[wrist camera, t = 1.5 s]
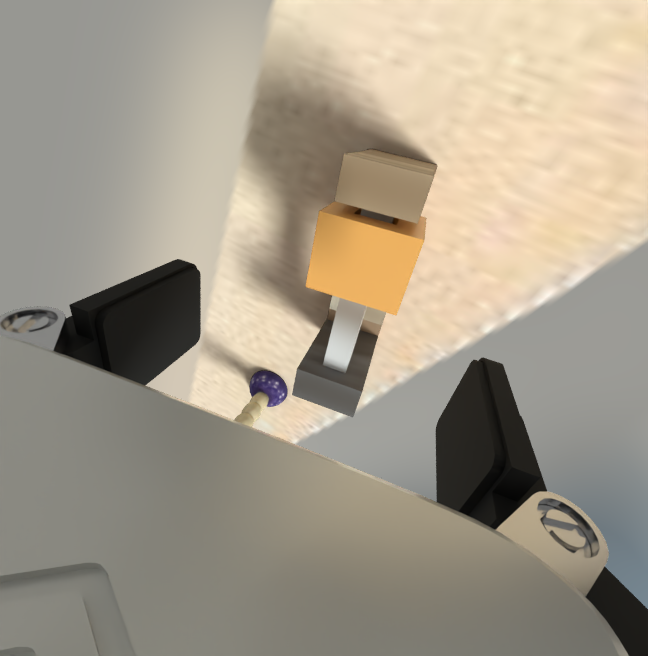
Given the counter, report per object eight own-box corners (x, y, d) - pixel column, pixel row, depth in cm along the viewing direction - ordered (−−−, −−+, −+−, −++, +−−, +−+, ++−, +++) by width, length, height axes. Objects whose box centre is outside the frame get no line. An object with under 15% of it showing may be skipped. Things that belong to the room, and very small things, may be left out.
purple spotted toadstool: (241, 382, 36) (120, 535, 22) (259, 357, 33) (134, 513, 19) (276, 407, 36) (179, 574, 22) (297, 385, 33) (200, 557, 20)
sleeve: (343, 195, 19) (319, 211, 15) (426, 217, 19) (424, 240, 14) (330, 258, 21) (305, 286, 17) (403, 280, 21) (396, 315, 17)
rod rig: (370, 148, 21) (339, 152, 14) (437, 164, 21) (438, 177, 14) (326, 333, 29) (292, 394, 22) (372, 349, 29) (352, 417, 22)
